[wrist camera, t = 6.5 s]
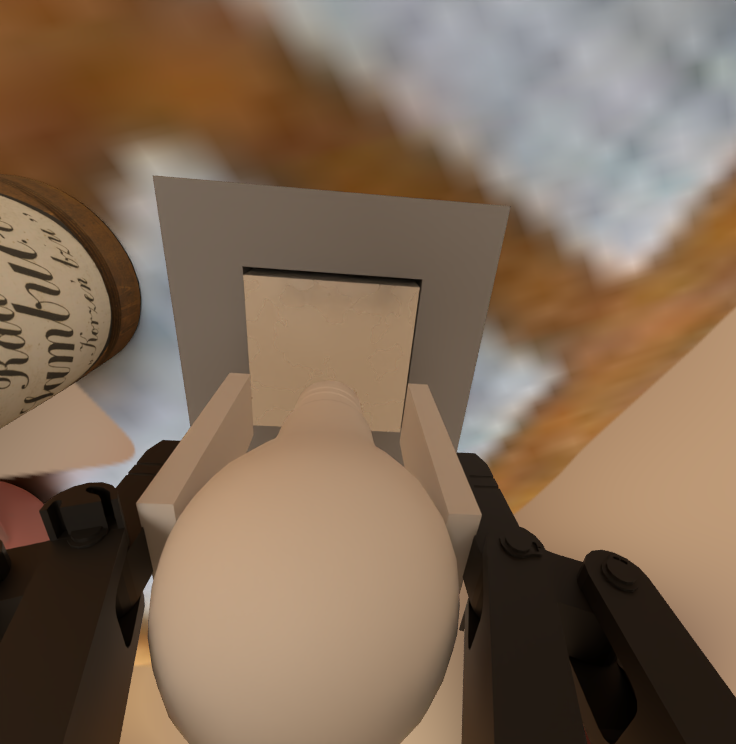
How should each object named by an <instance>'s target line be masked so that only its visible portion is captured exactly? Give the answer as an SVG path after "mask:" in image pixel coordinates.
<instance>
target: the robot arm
mask: <svg viewBox="0 0 736 744" xmlns="http://www.w3.org/2000/svg"><path fill="white" fill-rule="evenodd" d="M253 435H254V434H253V415H252V395H251V375H250V374H241V373H229V375H228V376H227V377H226V379H225V380H224V381H223V383H222V384H221V386H220V387H219V388H218V390H217V391H216V393H215V394H214V395H213V397H212V398H211V400H210V401H209V402H208V404H207V405H206V406H205V408H204V409H203V411H202V412H201V413H200V415H199V416H198V418H197V419H196V420H195V422H194V423H193V425H192V426H191V427H190V429H189V430H188V432H187V433H186V434H185V436H184V437H183V438H182V440H181V441H171V440H162V441H161V442H159V443H158V444H156V445H154V446H153V447H151V448H150V449H148V450H147V451H146V452H145V453H144V455H143V456H142V457H141V458H140V459H139V461H138V462H137V465H134V467H133V468H132V469H131V470H130V471H129V473H128V475H126V476H125V477H124V479H123V480H122V481H121V482H120V483H119V485H118V486H117V487H116V488H114V486H113V485H110V484H106V483H103V482H98V483H86V484H82V485H78V486H74V487H72V488H69V489H67V490H65V491H63V492H60V493H59V494H57V495H56V496H54V497H53V498H51V499H50V500H48V501H47V502H46V503H45V504H44V505H43V507H42V508H41V509H40V510H39V513H40V515H41V518H42V521H43V523H44V526H45V529H46V531H47V534H48V537H49V539H50V540H48V541H44V542H40V543H35V544H30V545H26V546H21V547H16V548H11V549H6V548H5V546H4V544H3V542H2V541H1V540H0V744H119V742H120V737H121V731H122V726H123V720H124V715H125V710H126V704H127V699H128V693H129V688H130V683H131V677H132V672H133V666H134V661H135V656H136V650H137V645H138V640H139V634H140V629H141V623H142V618H143V613H144V607H145V602H144V594H143V590H144V588H145V586H146V584H147V582H148V580H149V579H150V577H151V575H152V576H153V580H154V577H155V574H156V570H157V567H158V563H159V560H160V557H161V554H162V551H163V549H164V546H165V543H166V541H167V538H168V536H169V534H170V533H171V531H172V529H173V527H174V525H175V523H176V522H177V520H178V518H179V516H180V515H181V513H182V512H183V511H184V509H185V508H186V506H187V505H188V504H189V502H190V501H191V500H192V498H193V497H194V496H195V495H196V494H197V493H198V492H199V491H200V490H201V488H202V487H203V486H204V485H205V484H206V483H207V482H208V481H209V480H210V479H211V478H212V477H213V476H214V475H215V474H216V473H218V472H219V471H220V470H221V469H222V468H224V467H225V466H226V465H227V464H228V463H230V462H232V461H233V460H235V459H237V458H239V457H240V456H242V455H244V454H246V452H247V449H248V447H249V445H250V442H251V440H252V438H253ZM400 447H401V452H402V457H403V462H404V467H405V469H406V470H408V471H409V472H410V473H411V474H412V475H413V476H414V477H415V478H416V479H417V480H418V481H419V482H420V483H421V485H422V486H423V488H424V489H425V491H426V492H427V494H428V495H429V497H430V498H431V500H432V501H433V503H434V505H435V506H436V508H437V509H438V511H439V513H440V514H441V516H442V517H443V519H444V522H445V525H446V528H447V531H448V534H449V537H450V540H451V543H452V546H453V549H454V553H455V556H456V559H457V570H458V582H459V594H460V590H461V587H462V583H463V580H464V583H465V586H466V590H467V593H468V597H469V598H468V601H467V604H466V608H465V611H464V614H463V618H462V621H461V625H460V629H459V630H461V631H464V629H465V632H464V633H465V634H464V670H463V711H462V744H587V741H586V736H585V731H584V727H585V730H586V732H587V734H588V737H589V739H590V742H591V744H736V697H735V696H734V695H733V693H732V692H731V691H730V689H729V688H728V686H727V685H726V684H725V682H724V681H723V680H722V678H721V677H720V675H719V674H718V673H717V671H716V670H715V669H714V667H713V666H712V664H711V663H710V662H709V660H708V659H707V657H706V656H705V655H704V653H703V652H702V651H701V649H700V648H699V646H697V644H696V642H695V641H694V640H693V638H692V637H691V636H690V634H689V633H688V631H687V630H686V629H685V627H684V626H683V625H682V623H681V622H680V621H679V619H678V618H677V616H676V615H675V614H674V612H673V611H672V609H671V608H670V607H669V605H668V604H667V603H666V601H665V600H664V598H663V597H662V596H661V595H660V593H659V592H658V590H657V589H656V587H655V586H654V585H653V584H652V582H651V581H650V579H649V578H648V577H647V576H646V575H645V574H644V573H643V572H642V570H641V569H640V568H639V567H637V566H636V565H634V564H633V563H632V562H630V561H629V560H628V559H626V558H624V557H622V556H620V555H617V554H615V553H613V552H609V551H605V550H595V551H591V552H590V553H589V554H587V555H586V557H585V559H584V561H583V562H581V561H577V560H574V559H571V558H567V557H564V556H560V555H557V554H554V553H552V552H549V551H547V550H545V548H544V546H543V544H542V543H541V542H540V541H539V540H538V539H537V538H536V536H535V535H533V534H532V533H530V532H529V531H527V530H526V529H524V528H522V527H519V525H518V523H517V521H516V519H515V517H514V515H513V513H512V512H511V510H510V508H509V506H508V504H507V502H506V500H505V498H504V496H503V494H502V492H501V490H500V489H498V485H497V483H496V481H495V479H493V475H492V473H491V471H490V469H489V467H488V465H487V464H486V463H485V462H484V461H483V460H482V459H481V458H480V457H479V456H477V455H476V454H475V453H456V452H455V449H454V447H453V445H452V442H451V440H450V437H449V435H448V433H447V430H446V428H445V425H444V423H443V421H442V418H441V416H440V413H439V411H438V409H437V406H436V404H435V401H434V399H433V397H432V394H431V392H430V389H429V387H428V385H426V384H409V383H408V388H407V395H406V402H405V408H404V415H403V422H402V429H401V436H400ZM583 724H584V727H583Z"/></svg>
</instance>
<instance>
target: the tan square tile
mask: <svg viewBox="0 0 736 744" xmlns="http://www.w3.org/2000/svg"><path fill="white" fill-rule="evenodd" d="M243 280H244V295H245V310H246V325H247V341H248V356H249V371H250V375H251V395H252V415H253V425H257V426H278V427H282V424H283V422H284V421H285V419H286V418H287V417H288V415H289V414H290V413H291V412H293V410H294V408H295V405H296V403H297V401H298V399H299V397H300V395H301V393H302V392H303V391H304V390H305V389H306V388H307V387H308V386H310V385H312V384H313V383H316V382H319V381H325V380H333V381H338V382H341V383H343V384H346V385H347V386H349V387H350V388H351V389H352V390H353V391H354V392H355V393H356V395H357V396H358V398H359V401H360V405H361V409H362V412H363V417H364V418H365V420H366V421H367V423H368V424H369V427H370V429H371V431H383V432H400V429H401V421H402V414H403V407H404V399H405V392H406V385H407V377H408V370H409V363H410V355H411V348H412V340H413V333H414V326H415V318H416V311H417V304H418V296H419V289H420V287H419V286H418V284H417V283H416V282H415V280H414V279H409V278H395V277H381V276H368V275H354V274H340V273H326V272H313V271H299V270H285V269H271V268H258V267H254V268H253V269H251V270H250V271H248V272H247V273H245V274H244V275H243Z"/></svg>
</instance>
